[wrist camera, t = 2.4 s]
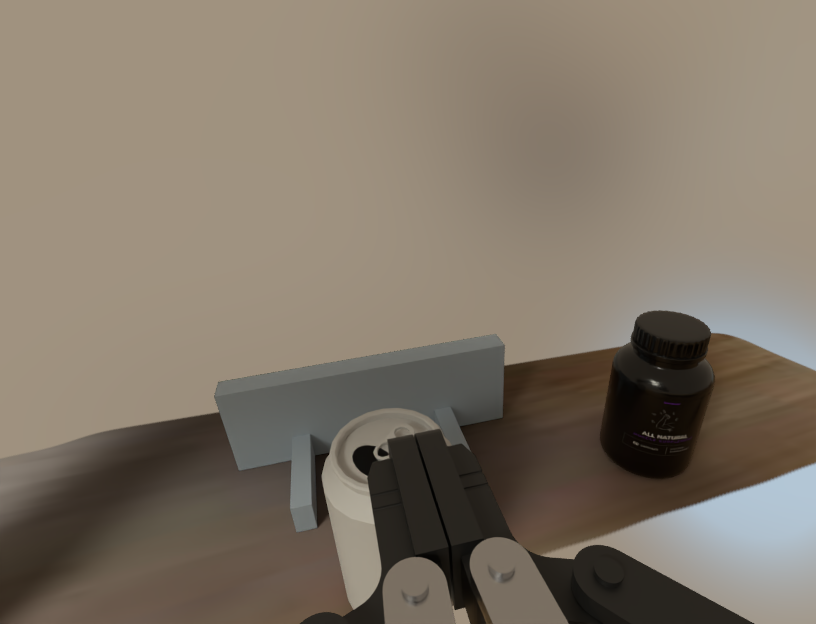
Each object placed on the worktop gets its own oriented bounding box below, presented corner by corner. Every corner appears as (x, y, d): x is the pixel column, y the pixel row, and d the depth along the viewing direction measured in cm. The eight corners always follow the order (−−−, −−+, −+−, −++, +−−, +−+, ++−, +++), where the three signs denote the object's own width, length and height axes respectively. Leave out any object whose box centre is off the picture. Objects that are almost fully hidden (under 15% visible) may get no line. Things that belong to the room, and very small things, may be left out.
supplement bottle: (648, 495, 34) (680, 361, 29) (581, 439, 40) (597, 317, 34) (710, 462, 37) (751, 332, 31) (639, 413, 42) (663, 295, 37)
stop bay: (226, 548, 33) (194, 467, 29) (241, 454, 41) (218, 381, 38) (538, 478, 36) (545, 397, 33) (494, 404, 45) (496, 333, 41)
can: (324, 582, 30) (289, 445, 25) (406, 511, 35) (392, 382, 29) (401, 675, 25) (378, 529, 20) (486, 579, 30) (487, 438, 24)
